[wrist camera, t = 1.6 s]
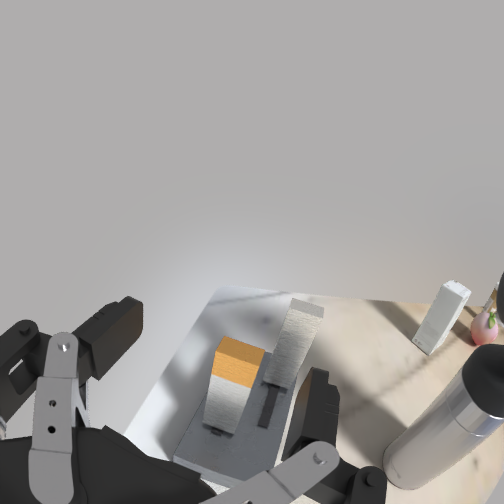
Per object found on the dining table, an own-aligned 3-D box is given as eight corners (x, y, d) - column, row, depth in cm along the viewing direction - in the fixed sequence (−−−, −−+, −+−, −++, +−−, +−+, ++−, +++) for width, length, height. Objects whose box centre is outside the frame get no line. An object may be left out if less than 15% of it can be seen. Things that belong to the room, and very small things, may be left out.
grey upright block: (266, 370, 36) (292, 297, 31) (292, 378, 36) (324, 307, 31) (262, 380, 35) (289, 308, 29) (289, 389, 34) (322, 318, 29)
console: (230, 357, 43) (234, 337, 41) (292, 377, 41) (300, 359, 40) (173, 466, 25) (173, 453, 23) (258, 496, 23) (268, 487, 22)
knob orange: (208, 409, 29) (224, 335, 24) (239, 420, 28) (265, 350, 23) (202, 422, 27) (215, 350, 22) (233, 434, 27) (259, 366, 21)
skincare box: (428, 356, 50) (464, 299, 44) (409, 340, 55) (441, 283, 48) (441, 344, 55) (473, 291, 48) (424, 329, 59) (453, 277, 53)
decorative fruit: (462, 328, 62) (480, 298, 58) (483, 340, 58) (502, 311, 54) (463, 346, 55) (483, 314, 51) (485, 358, 51) (507, 327, 47)
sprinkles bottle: (487, 328, 64) (508, 291, 58) (476, 321, 67) (497, 284, 61) (487, 322, 67) (507, 286, 62) (477, 316, 70) (497, 280, 64)
